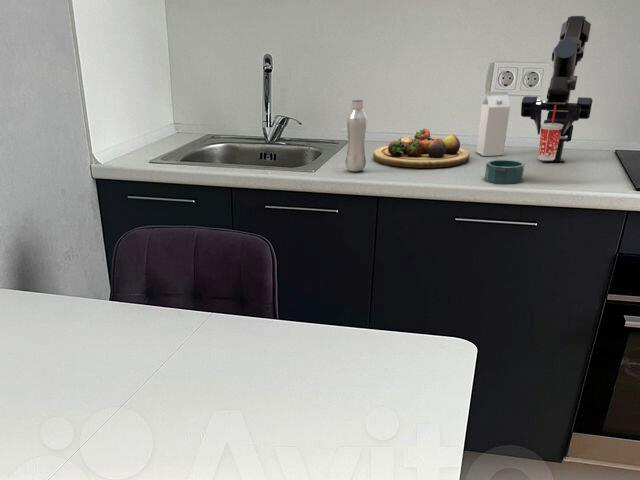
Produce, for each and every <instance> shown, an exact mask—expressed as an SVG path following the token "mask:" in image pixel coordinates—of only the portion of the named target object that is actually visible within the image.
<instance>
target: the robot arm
mask: <svg viewBox="0 0 640 480" xmlns="http://www.w3.org/2000/svg"><path fill="white" fill-rule="evenodd" d="M586 17H587V16H584V15H570V16H568V17H567V20H566V21H564V22H563V23H562V24H561V29H560V34H559V40H558V41H557V42H558V43H557V45H556V46H555V47H554V48H553V51H552V53H551V61H552V62H553V65H552V68H553V69H552V74H551V78H550V83H549V87H548V88H547V92H546V101H543V100H542V99H538V95H525V96H523V98H522V100H521V105H520V106H521V107H520V116H521V117H522V118H529V119H530V120H533V121H534V124H535V127H536V131H537V135H538V136H539V135H541V124H542V113H543V111H547V116H546V119H544V120H543V123H552V118H553V112H554V106H555V105H556V111H555V117H554V122H553V123H560V124H563V129H562V130H561V135H560V139H559V143H558V147H557V151H556V156H555V159H554V160H550V161H545V160H541V162H543V163H565V160H564V159H563V158H562V156H563V151H564V145H565V142H566V143H568V142H571V141H572V137H573V131H574V124H573V123H574V122H578V121H579V120H588V119H590V116H591V111H592V106H593V98H592V97H588V96H587V97H583V96H579V97H577V101H576V102H570V98H571V92H572V91H575V90H576V86H577V81H578V75H575V72H576V67H577V66H578V63H580V62H581V61H582V59H583V58H584V55H585V48H586V44H587V43H588V42H589V39H590V34H591V25H592V23H590V22H589V21H588V20H587V18H586Z"/></svg>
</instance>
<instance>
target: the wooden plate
mask: <svg viewBox="0 0 640 480" xmlns="http://www.w3.org/2000/svg"><path fill="white" fill-rule="evenodd" d="M413 137H414V138H411V137H409V136H405V137H403V138H399V139H397V140H393V141H391V142H390V143H389V144H388V145H384V146H381V147H377V148H376V149H374V151H373V153H372V157H373V158H374V160H376V161H377V162H379V163H381V164H384V165H388V166H393V167H401V168H402V167H403V168H415V169H434V168H446V167H453V166H457V165H461V164H464V163H466V162H468V161H469V159H470V157H471V155H470V152H469V151H468V150H467V149H466V148H463V147H461V142H460V139H459V137H457V135H455V134H454V133H449V135H447V136H446V137H445V138H444V140H443V138H442V137H439V136H437V137H433V138H432V137H431V132H430V130H429V129H428V128H422V129H419V131H416V132H415V135H414V136H413Z"/></svg>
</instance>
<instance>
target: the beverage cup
mask: <svg viewBox="0 0 640 480" xmlns="http://www.w3.org/2000/svg"><path fill="white" fill-rule="evenodd" d="M555 111H556V105H555V106H554V112H553V118H552V123H544V122H543V123H541V128H540V134H539V135H540V137H539V144H538V145H539V146H538V155H537V156H538V157H537V160H540V161H542V160H545V161H550V160H554V159H555V156H556V151H557V147H558V143H559V139H560V135H561V130H562V129H563V124H560V123H553V122H554V117H555Z"/></svg>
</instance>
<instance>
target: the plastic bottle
mask: <svg viewBox="0 0 640 480" xmlns="http://www.w3.org/2000/svg"><path fill="white" fill-rule="evenodd" d="M350 108H351V110H350V112H349V113H348V115H347V118H346V130H347V147H346V149H347V150H346V156H345V169H346V170H347V171H350V172H355V173H356V172H360V171H364V169H365V168H366V165H367V159H366V147H365V143H366V142H365V141H366V134H367V133H366V131H367V127H368V126H367V125H368V117H367V114H366V113H365V111H364V109H363V108H365V106H364V100H363V99H354V100H351V107H350Z"/></svg>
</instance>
